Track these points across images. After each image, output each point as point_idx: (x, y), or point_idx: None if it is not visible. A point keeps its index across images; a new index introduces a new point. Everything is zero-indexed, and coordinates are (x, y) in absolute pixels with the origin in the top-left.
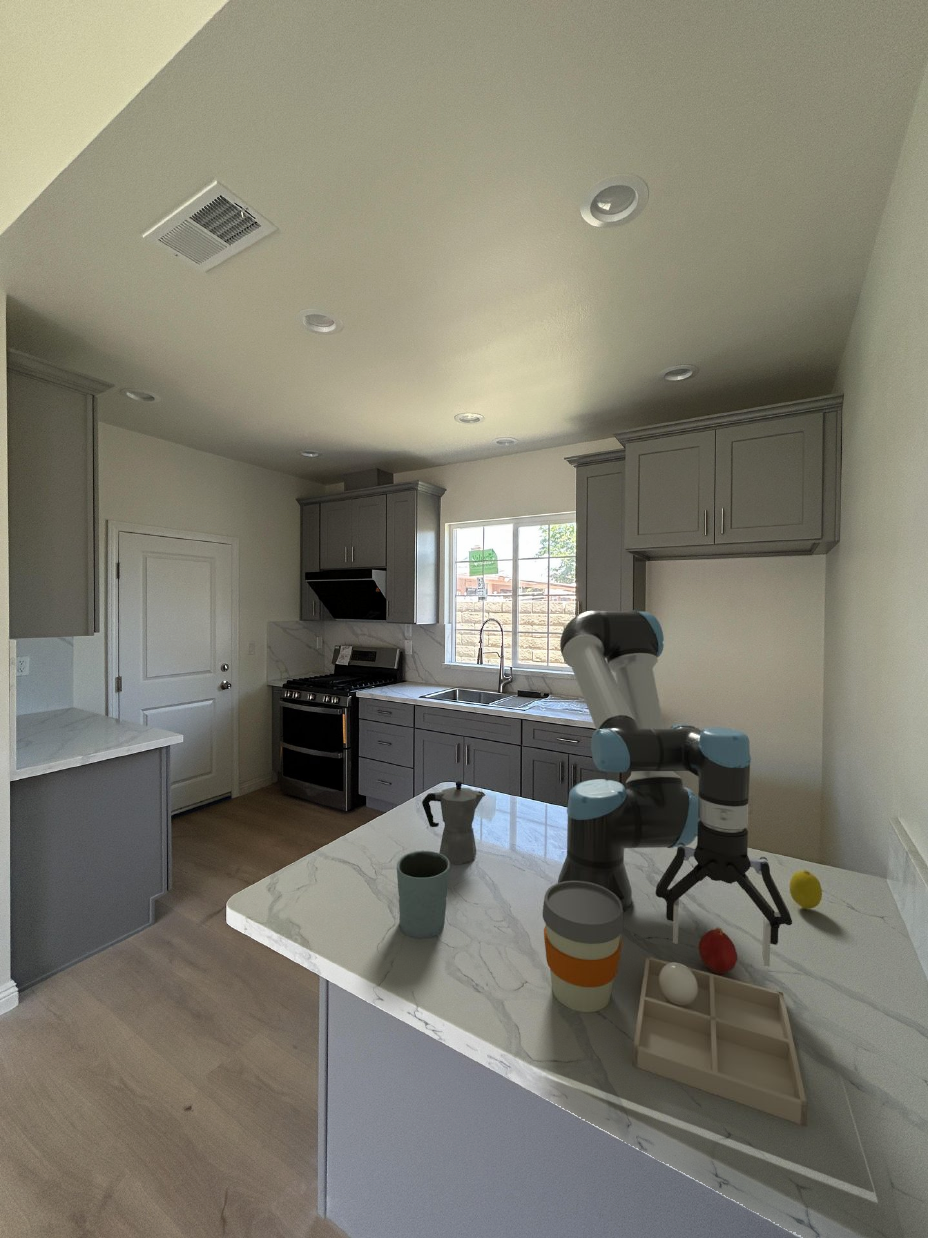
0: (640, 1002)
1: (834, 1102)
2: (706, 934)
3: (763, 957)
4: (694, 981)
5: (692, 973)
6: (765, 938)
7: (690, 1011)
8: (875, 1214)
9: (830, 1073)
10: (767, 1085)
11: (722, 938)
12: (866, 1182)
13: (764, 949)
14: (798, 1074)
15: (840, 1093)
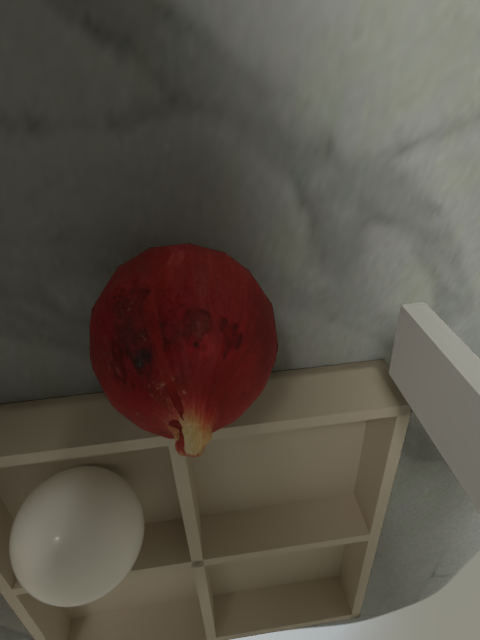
0: (11, 606)
1: (409, 517)
2: (121, 405)
3: (401, 357)
4: (131, 565)
5: (118, 563)
6: (462, 485)
7: (140, 574)
8: (393, 604)
9: (431, 472)
10: (299, 555)
11: (214, 427)
12: (400, 585)
13: (425, 422)
14: (364, 585)
15: (429, 499)
